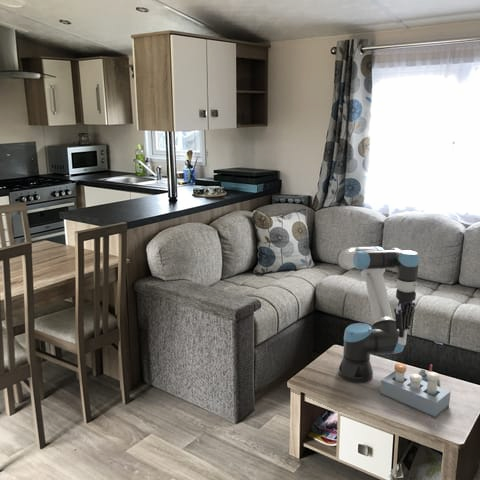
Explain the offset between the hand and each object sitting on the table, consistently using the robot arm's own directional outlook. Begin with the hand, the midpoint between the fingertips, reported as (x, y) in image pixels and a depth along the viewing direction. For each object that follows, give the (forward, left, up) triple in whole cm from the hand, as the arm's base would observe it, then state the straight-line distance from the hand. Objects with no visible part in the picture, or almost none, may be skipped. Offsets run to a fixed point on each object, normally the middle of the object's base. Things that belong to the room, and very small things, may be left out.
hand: (402, 343), depth 207 cm
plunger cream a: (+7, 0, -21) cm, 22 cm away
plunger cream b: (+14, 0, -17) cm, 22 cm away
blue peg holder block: (+7, 0, -23) cm, 24 cm away
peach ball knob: (0, 0, -19) cm, 19 cm away
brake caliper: (+6, +14, -23) cm, 28 cm away
